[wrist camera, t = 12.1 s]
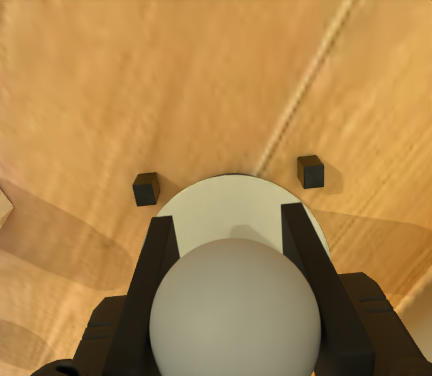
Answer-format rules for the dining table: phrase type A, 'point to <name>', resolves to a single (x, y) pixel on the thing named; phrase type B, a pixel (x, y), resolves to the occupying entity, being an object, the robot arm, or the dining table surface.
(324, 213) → the dining table surface
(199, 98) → the dining table surface
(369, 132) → the dining table surface
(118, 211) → the dining table surface
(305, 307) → the towel roll
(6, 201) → the jar
